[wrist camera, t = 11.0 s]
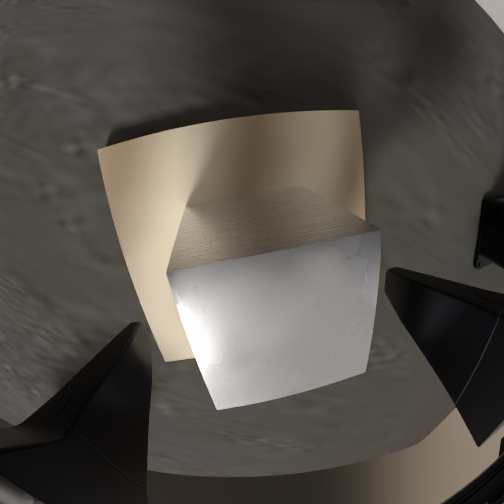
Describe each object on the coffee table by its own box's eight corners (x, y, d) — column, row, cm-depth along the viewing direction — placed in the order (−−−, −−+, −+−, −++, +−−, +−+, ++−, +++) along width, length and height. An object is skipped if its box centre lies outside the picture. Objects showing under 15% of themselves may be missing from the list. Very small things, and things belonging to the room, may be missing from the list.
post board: (349, 111, 13) (406, 105, 8) (353, 311, 18) (389, 357, 14) (104, 149, 12) (57, 155, 7) (166, 351, 17) (160, 410, 12)
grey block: (300, 185, 13) (381, 229, 7) (308, 284, 15) (365, 371, 9) (185, 205, 13) (166, 272, 6) (209, 305, 15) (217, 409, 9)
